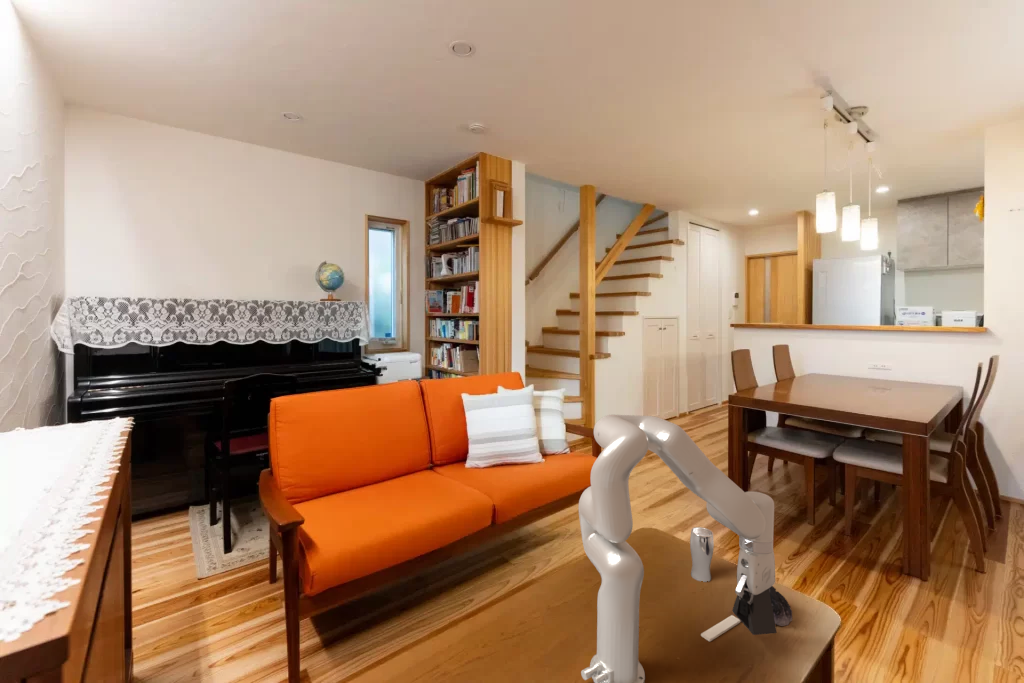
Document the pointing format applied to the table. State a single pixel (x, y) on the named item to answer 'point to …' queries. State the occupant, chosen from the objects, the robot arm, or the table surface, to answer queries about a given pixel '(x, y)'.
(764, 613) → the phone stand
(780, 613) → the black rock
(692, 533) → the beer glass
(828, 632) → the table surface
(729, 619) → the cream panel
